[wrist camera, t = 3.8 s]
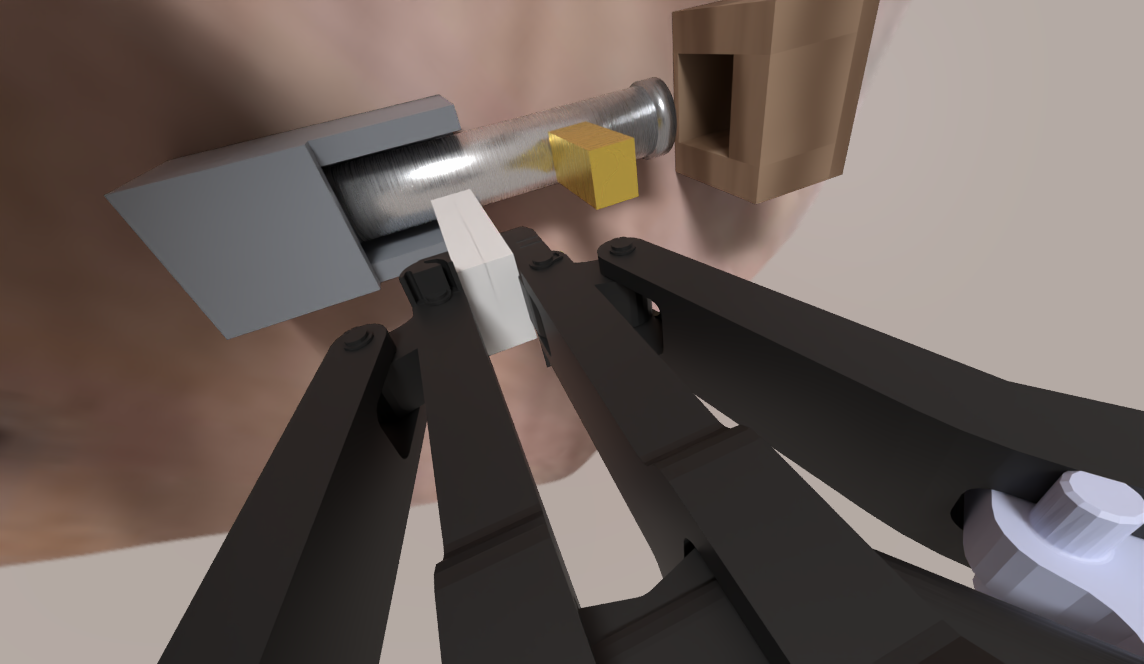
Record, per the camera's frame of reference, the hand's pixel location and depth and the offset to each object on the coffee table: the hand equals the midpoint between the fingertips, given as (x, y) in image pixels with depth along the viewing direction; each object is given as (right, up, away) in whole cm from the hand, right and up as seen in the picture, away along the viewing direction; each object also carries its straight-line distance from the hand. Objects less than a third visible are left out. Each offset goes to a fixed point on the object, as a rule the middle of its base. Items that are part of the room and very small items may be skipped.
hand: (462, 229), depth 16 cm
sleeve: (-8, +4, +7) cm, 11 cm away
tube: (-2, +6, +8) cm, 10 cm away
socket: (+12, +11, +11) cm, 20 cm away
